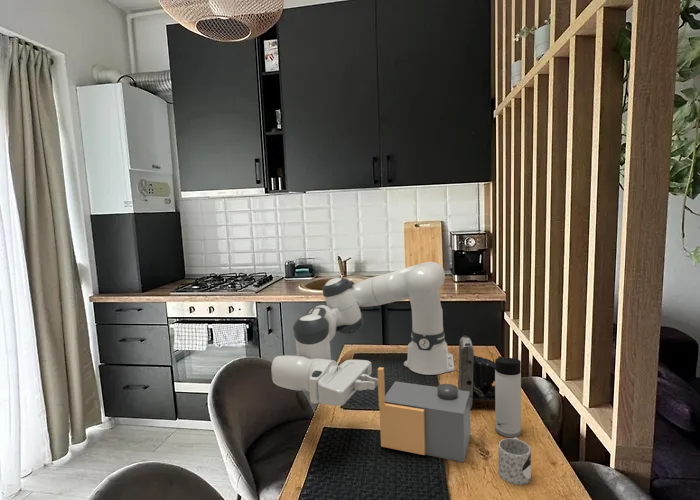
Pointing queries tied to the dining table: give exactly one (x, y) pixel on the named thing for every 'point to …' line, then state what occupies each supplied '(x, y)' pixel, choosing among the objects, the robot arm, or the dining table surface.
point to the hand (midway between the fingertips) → (376, 384)
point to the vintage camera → (475, 373)
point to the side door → (400, 423)
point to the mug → (514, 461)
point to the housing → (438, 416)
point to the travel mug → (508, 397)
